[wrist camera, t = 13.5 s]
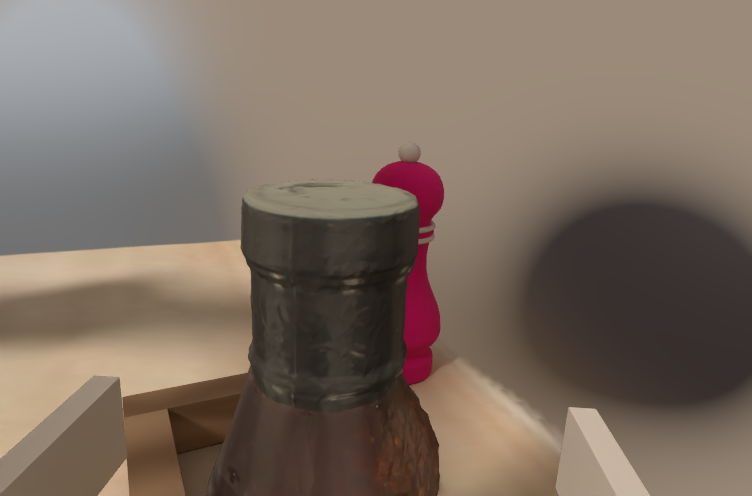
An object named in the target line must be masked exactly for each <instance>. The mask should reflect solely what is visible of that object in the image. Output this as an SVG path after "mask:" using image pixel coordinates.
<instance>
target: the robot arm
mask: <svg viewBox="0 0 752 496" xmlns="http://www.w3.org/2000/svg"><path fill="white" fill-rule="evenodd" d="M126 458H127V447H126V437H125V428H124V418H123V408H122V398H121V389H120V379H119V377H107V376H93V377H92V378H91V379H90V380H88V381H87V382H86V383H85V384H84V385H83V386H82V387H81V388H80V389H78V390H77V391H76V392H75V393H74V394H73V395H72V396H71V397H69V398H68V399H67V400H66V401H65V402H64V403H63V404H62V405H60V406H59V407H58V408H57V409H56V410H55V411H54V412H53V413H51V414H50V415H49V416H48V417H47V418H46V419H45V420H44V421H43V422H41V423H40V424H39V425H38V426H37V427H36V428H35V429H34V430H32V431H31V432H30V433H29V434H28V435H27V436H26V437H25V438H23V439H22V440H21V441H20V442H19V443H18V444H17V445H16V446H14V447H13V448H12V449H11V450H10V451H9V452H8V453H7V454H6V455H4V456H3V457H2V458H1V459H0V496H97V495H98V494H99V493H100V492H101V490H102V489H103V488H104V486H105V485H106V484H107V483H108V481H109V480H110V479H111V477H112V476H113V475H114V473H115V472H116V471H117V470H118V468H119V467H120V466H121V464H122V463H123V462H124V461H125V459H126ZM555 488H556V491H557V493H558V496H650V495H649V493H648V492H647V490H646V489H645V487H644V485H643V484H642V482H641V481H640V479H639V477H638V476H637V474H636V473H635V471H634V469H633V468H632V466H631V464H630V463H629V461H628V460H627V458H626V457H625V455H624V453H623V452H622V450H621V448H620V447H619V445H618V444H617V442H616V440H615V439H614V437H613V436H612V434H611V433H610V431H609V429H608V428H607V426H606V424H605V423H604V421H603V420H602V418H601V417H600V415H599V414H598V412H597V410H596V409H588V408H573V407H569V409H568V414H567V420H566V426H565V432H564V438H563V444H562V450H561V456H560V462H559V468H558V474H557V480H556V486H555Z"/></svg>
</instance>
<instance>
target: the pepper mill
mask: <svg viewBox="0 0 752 496" xmlns="http://www.w3.org/2000/svg"><path fill="white" fill-rule="evenodd" d="M420 155H421V151H420V148H419V146H418V145H417V144H416V143H414V142H406V143H404V144H403V145H401V147H400V148H399V157H400V159H401V161H399V162H395V163H391V164H388V165H386V166H385V167H383V168H382V169H381V170H380V171H379V172H378V173H377V174H376V176H375V178H374V179H373V182H372V183H374V184H381V185H385V186H389V187H394V188H399V189H402V190H405V191H408V192H410V193H411V194H413V195H415V196H416V198H417V201H418V204H419V207H420V219H419V238H418V255H417V258H416V261H415V266H414V268H413V270H412V271H411V273H410V274H409V276H408V279H407V290H406V311H405V327H404V341H405V343H406V345H407V355H406V360H405V365H404V368H403V371H402V373H403V374H404V377H405V379H406V381H407V383H408V385H410V384H414V383H417V382H420V381H422V380H424V379H425V378H427V377H428V375H429V374H430V372H431V365H432V351H431V349H430V348H429V346H431V345H432V344H433V343H434V342H435V340H436V339H437V337H438V336H439V332H440V314H439V310H438V305H437V302H436V300H435V297H434V295H433V292H432V290H431V287H430V284H429V281H428V277H427V270H426V256H427V250H428V245H429V242H431V241H432V240H433V239H434V238H435V236H434V234H433V233H434V228H435V223H434V222H433V221H431V220H432V218H433V216H434V215H435V214H436V213H437V212H438V211H439V210H440V209H441V206H442V203H443V199H444V188H443V184H442V181H441V179H440V176H439V175H438V174H437V173H436V171H434V170H433V169H432V168H430V167H429V166H427V165H425V164H422V163H419V162H417V161H418V159H419V158H420Z"/></svg>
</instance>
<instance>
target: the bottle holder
mask: <svg viewBox="0 0 752 496" xmlns="http://www.w3.org/2000/svg"><path fill="white" fill-rule="evenodd" d="M247 374H248V373H245V374H239V375H234V376H229V377H224V378H219V379H214V380H208V381H203V382H198V383H193V384H188V385H183V386H178V387H172V388H167V389H162V390H157V391H152V392H147V393H141V394H136V395H131V396H126V397H123V411H124V425H125V437H126V447H127V466H128V480H129V493H130V496H185V491H184V486H183V482H182V477H181V472H180V467H179V463H178V458H177V454H178V453H182V452H186V451H190V450H194V449H198V448H202V447H206V446H210V445H214V444H218V443H222V442H224V440H225V437H226V435H227V432H228V430H229V427H230V425H231V422H232V419H233V416H234V413H235V410H236V407H237V404H238V401H239V398H240V395H241V392H242V389H243V386H244V383H245V380H246V377H247Z"/></svg>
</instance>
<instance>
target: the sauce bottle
mask: <svg viewBox="0 0 752 496" xmlns="http://www.w3.org/2000/svg"><path fill="white" fill-rule="evenodd" d="M419 219H420V207H419V204H418V201H417V198H416V196H415V195H413V194H411V193H410V192H408V191H405V190H402V189H399V188H394V187H389V186H385V185H381V184H374V183H369V182H356V181H346V180H314V179H310V180H302V181H288V182H281V183H277V184H267V185H263V186H258V187H255V188H251V189H250V190H248V191H247V192H246V193H245V194H244V197H243V198H242V221H241V250H242V252H243V255H244V256H245V258H246V262H247V265H248V266H249V267H250V270H251V307H252V335H253V340H252V343H251V345H250V347H249V354H248V359H249V361H250V363H251V365H250V368H249V371H248V374H247V377H246V380H245V383H244V386H243V389H242V392H241V395H240V398H239V401H238V404H237V407H236V410H235V413H234V416H233V419H232V422H231V425H230V427H229V430H228V432H227V435H226V437H225V440H224V443H223V445H222V448H221V450H220V453H219V455H218V458H217V461H216V463H215V466H214V468H213V471H212V473H211V476H210V479H209V483H208V488H207V496H437V494H438V490H439V480H440V474H439V455H438V448H439V444H438V441H437V438H436V436H435V433H434V431H433V429H432V426H431V424H430V421H429V417H428V414H427V413H426V412H425V411H424V410H423V409H422V408H421V406H420V402H419V398H418V397H417V396H416V394H415V393H414V391H412V390H411V388H410V386H409V385H408V383H407V381H406V379H405V377H404V374H403V373H402V371H403V368H404V365H405V360H406V355H407V345H406V343H405V341H404V327H405V311H406V290H407V279H408V276H409V274H410V273H411V271H412V270H413V268H414V266H415V261H416V258H417V255H418V238H419Z"/></svg>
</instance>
